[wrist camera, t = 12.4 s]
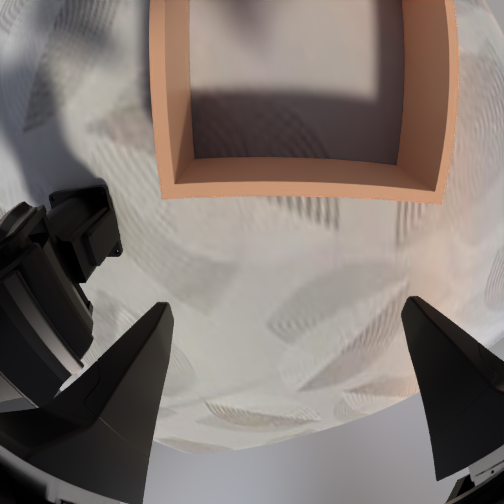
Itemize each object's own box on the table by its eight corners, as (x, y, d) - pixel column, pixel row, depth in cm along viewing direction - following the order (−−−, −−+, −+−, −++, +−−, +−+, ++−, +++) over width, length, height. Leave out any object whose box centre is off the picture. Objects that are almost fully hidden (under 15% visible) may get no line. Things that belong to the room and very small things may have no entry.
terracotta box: (184, 170, 19) (162, 199, 14) (179, -37, 10) (156, -69, 5) (403, 175, 19) (441, 204, 14) (407, -15, 10) (446, -32, 5)
